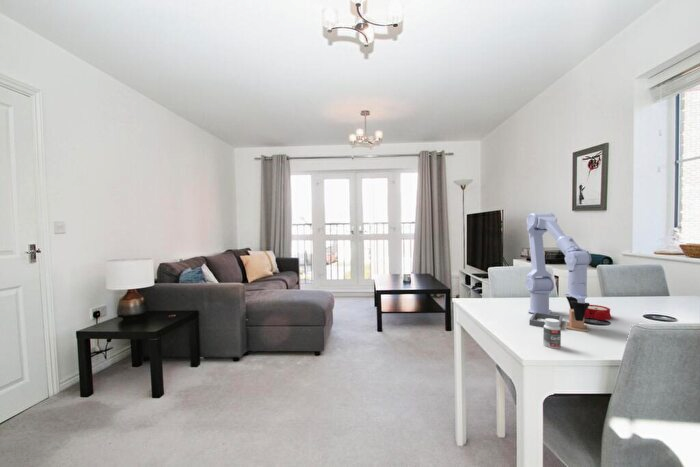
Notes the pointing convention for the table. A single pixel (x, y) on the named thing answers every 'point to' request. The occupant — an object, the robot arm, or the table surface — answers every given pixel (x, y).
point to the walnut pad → (577, 328)
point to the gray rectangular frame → (543, 316)
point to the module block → (573, 321)
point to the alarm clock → (598, 312)
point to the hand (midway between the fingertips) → (577, 318)
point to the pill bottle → (552, 333)
